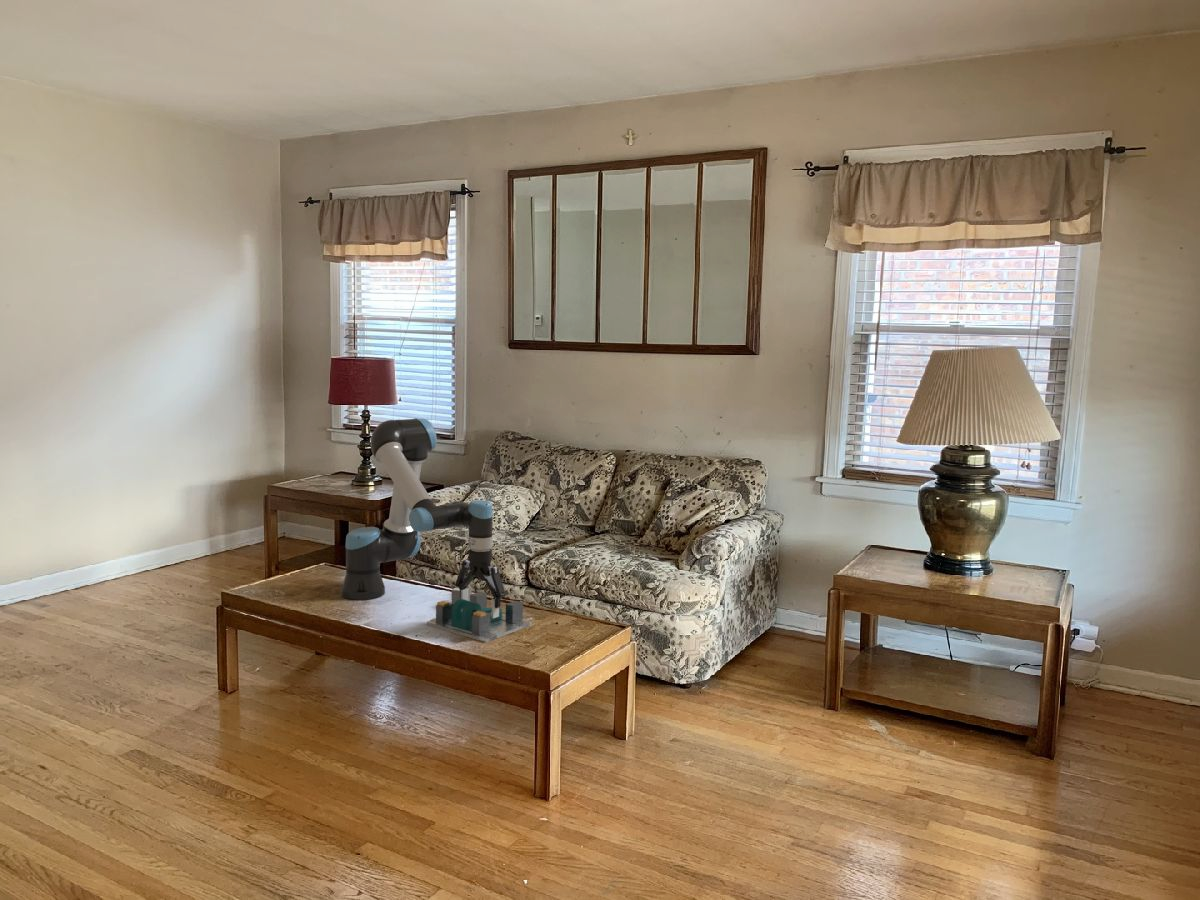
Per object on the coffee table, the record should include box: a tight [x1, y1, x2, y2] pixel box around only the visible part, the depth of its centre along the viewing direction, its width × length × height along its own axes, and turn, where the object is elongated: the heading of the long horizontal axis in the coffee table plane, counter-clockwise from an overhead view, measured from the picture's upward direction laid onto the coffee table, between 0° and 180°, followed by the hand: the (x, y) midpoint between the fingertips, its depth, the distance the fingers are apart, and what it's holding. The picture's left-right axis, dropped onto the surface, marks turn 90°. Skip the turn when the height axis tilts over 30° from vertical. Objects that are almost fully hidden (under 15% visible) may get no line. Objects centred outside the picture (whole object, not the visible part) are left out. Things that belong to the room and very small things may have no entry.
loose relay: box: [451, 587, 473, 604], centre depth 316 cm, size 5×5×6 cm
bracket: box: [451, 599, 503, 630], centre depth 296 cm, size 18×7×8 cm, turn 141°
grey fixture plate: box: [426, 591, 533, 643], centre depth 296 cm, size 26×22×8 cm
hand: (479, 613), depth 296 cm, fingers open, 13 cm apart
